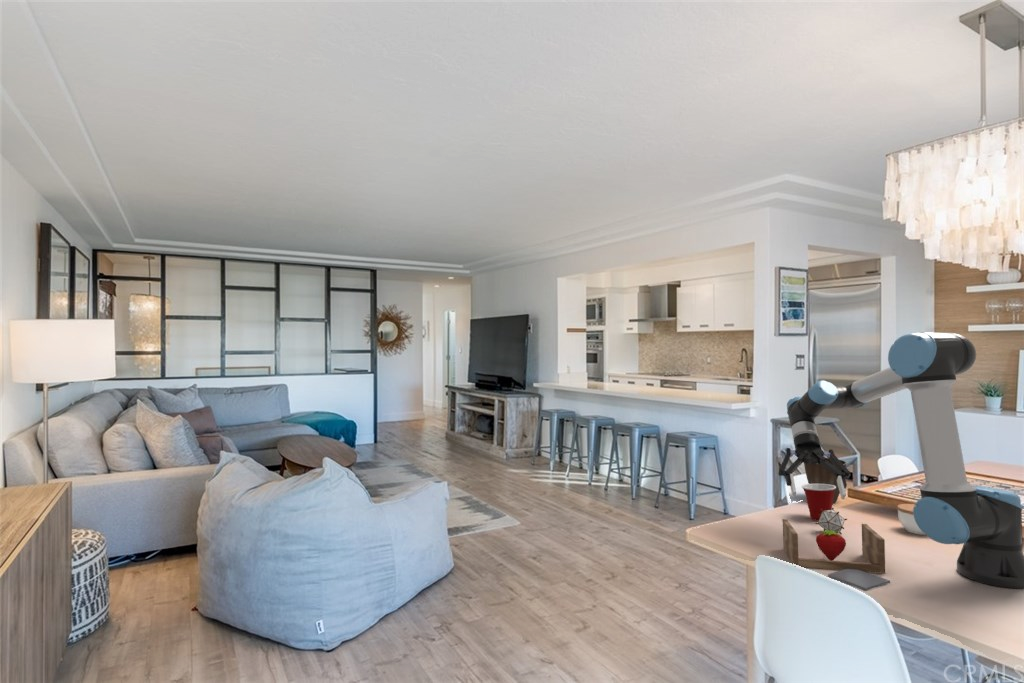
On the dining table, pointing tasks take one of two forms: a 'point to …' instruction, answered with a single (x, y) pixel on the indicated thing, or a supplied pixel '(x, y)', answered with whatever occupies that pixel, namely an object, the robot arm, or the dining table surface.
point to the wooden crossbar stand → (870, 550)
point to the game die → (831, 520)
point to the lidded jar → (908, 518)
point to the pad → (859, 578)
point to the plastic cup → (819, 498)
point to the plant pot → (822, 476)
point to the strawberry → (830, 544)
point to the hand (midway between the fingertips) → (818, 495)
